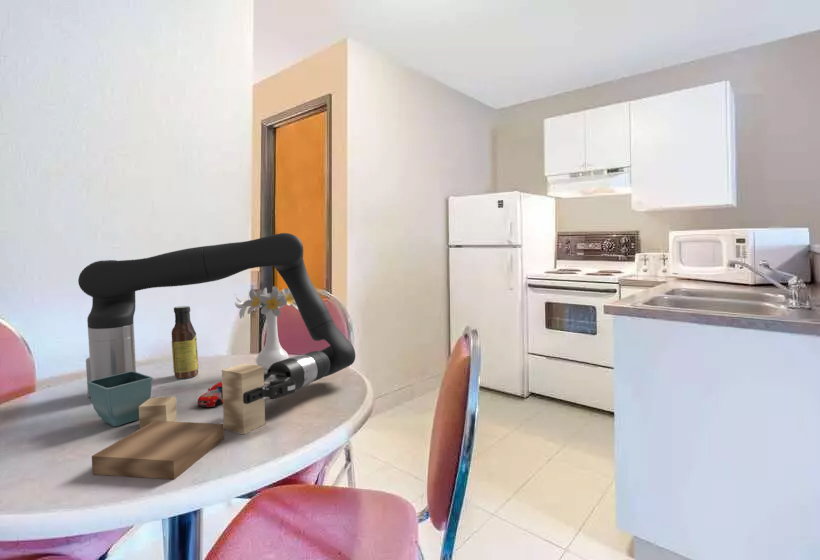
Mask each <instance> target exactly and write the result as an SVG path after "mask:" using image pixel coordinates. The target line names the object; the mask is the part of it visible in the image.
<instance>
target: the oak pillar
mask: <svg viewBox="0 0 820 560" xmlns="http://www.w3.org/2000/svg"><path fill="white" fill-rule="evenodd" d="M221 382H222V390H223V404H222V410H223V411H222V412H223V413H222V416H223V428H224V431H225V430H226V431H229V432H233V433H237V434H242V435H245V434H247V433H250V432H251V431H254V430H255V429H258V428H260V427H262V426H264V425H265V424H266V411H265V409H266V407H265V399H258V400H256V401H254V402H251V403H249V404H245V403H244V402H243V394H244V393H245V392H247V391H250V390H252V389H255V388H260V386H262V385H264V368H263V366H258V365H257V364H251V363H250V364H249V363H240V364H238V365H234V366H231V367H228V368H224V369H221Z"/></svg>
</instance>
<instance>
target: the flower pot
mask: <svg viewBox="0 0 820 560" xmlns="http://www.w3.org/2000/svg"><path fill="white" fill-rule="evenodd" d="M153 378H154V377H152V376H151V375H147V374H143V373H141V372H137V371H136V372H134V371H130V372H126V373H121V374H117V375H113V376H109V377H105V378H101V379H96V380H92V381H88V387H89V392H90V396H91V397H90V400H91V403H92V406H93V409H94V410H95V412H96V413H97V415H98V417H99V418H101V420H102V421H103V422H104V423H106V424H109V425H110V426H113V427H119V426H122V425H125V424H128V423H131V422H134V421H139V406H140V405H142V404H143V403H144V402H146V401H147V400H148V399H150V398H152V389H153V388H152V387H153Z"/></svg>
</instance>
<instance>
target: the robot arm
mask: <svg viewBox="0 0 820 560" xmlns="http://www.w3.org/2000/svg"><path fill="white" fill-rule="evenodd" d="M262 267H263V268H264V267H274V268H275V270H276V271H277V273H278V274H279V276H280V277H281V278H282V280H283V281H284V283H285V284H286V286H287V288H288V289H289V290H290V291H291V293H292V296H293V298H294V300H295V303H296V304H297V307H298V309H299V310H298V309H297V310H298V311H299V314H300V316H301V319H302V320H303V323H304V325H305V327H306V329H307V331H308V333H309V336H310V337H311V338H312V340H313V341H314V342H315V341H316V342H319V341H320V342H321V341H325V342H327V343H328V345H329V346H327V347H325V348H324V349H321V350H313V351H311V352H307V353H303V354H300V355H299V354H298V355H294V356H291V357H289V358H288V359H285V360H282V361H279V362H276V363H273V364H272V365H271V366H270V368H269V369H268V371H267V372H264V385H262V386H260V388H255V389H252V390H250V391H247V392H245V393H244V394H243V402H244V403H245V404H249V403H251V402H254V401H256V400H258V399H264V400H266V399H267V398H269V400H271V401H272V400H276V399H279V398H283V397H286V396H289V395H291V394H295V393H296V391H298V390H300V389H303V388H304V387H308V386H309V385H310V384H312V383H314V382H317V381H318V380H321V379H322V378H325V377H329V376H331V375H334V374H336V373H338V372H340V371H342V370H344V369H346V368H349V367H350V366H351V365H353V364H354V363H355V360H356V350H355V348H354V346H353V344H352V343H351V341H350V340H349V339H348V338H347V337H346V336H345V335H344V334H343V332H342V331H341V330H340V328H339V327H338V326H337V325H336V324H335V321H334V320H333V317H332V315H331V314H330V311H329V309H328V307H327V305H326V303H325V301H324V300H323V299H322V297H321V295H320V294H319V292H318V291H317V289H316V287H315V286H314V284H313V282H312V280H311V278H310V276H309V274H308V270H307V268H306V265H305V261H304V246H303V243H302V241H301V239H300V238H299V237H298V236H296V235H294V234H292V233H288V232H280V233H276V234H272V235H267V236H264V237H260V238H255V239H251V240H246V241H238V242H228V243H220V244H213V245H204V246H197V247H190V248H184V249H179V250H174V251H170V252H169V251H168V252H166V253H161V254H158V255H153V256H150V257H144V258H137V259H127V260H125V259H124V260H116V259H113V260H112V259H111V260H110V259H106V260H104V259H103V260H98V261H94V262H91V263H89V264H88V265H87V266H85V267H84V268H83V269H82V271H80V273H79V276H78V281H77V282H78V286H79V288H80V290H81V291H82V293H85V294H86V295H88V296H89V297H91V298H92V299H91V300H92V306H91V309H90V312H89V313H88V316H87V335H88V336H87V337H88V350H89V351H88V352H89V353H88V354H89V356H88V357H87V358H86V359H85V369H86V371H85V372H86V384H87V386H86V387H87V397H88V398H91V396H90V392H89V387H88V381H92V380H96V379H101V378H105V377H109V376H113V375H117V374H121V373H126V372H130V371H134V372H137V367H136V366H137V365H136V362H137V361H136V345H135V344H136V343H135V327H134V326H135V325H134V321H135V320H134V315H135V312H136V292H137V291H142V290H147V289H155V288H166V287H169V288H171V287H182V286H189V285H191V286H192V285H199V284H205V283H206V284H207V283H211V282H212V283H213V282H215V281H220V280H223V279H226V278H230V277H231V276H234V275H236V274H239V273H241V272H244V271H246V270H250V269H255V268H262ZM221 397H222V399H223V390H222V389H221Z"/></svg>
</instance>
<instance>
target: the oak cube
mask: <svg viewBox="0 0 820 560" xmlns="http://www.w3.org/2000/svg"><path fill="white" fill-rule="evenodd" d="M177 409H178V407H177V396H162V397H161V396H160V397H157V396H156V397H151V398H150V399H148V400H147V401H146V402H144V403H143V404H142V405H140V406H139V419H138V421H139V429H141V428H143V427H144V426H146V425H148V424H150V423H151V422H153V421H170V422H177V420H178V413H177V412H178V410H177Z"/></svg>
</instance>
